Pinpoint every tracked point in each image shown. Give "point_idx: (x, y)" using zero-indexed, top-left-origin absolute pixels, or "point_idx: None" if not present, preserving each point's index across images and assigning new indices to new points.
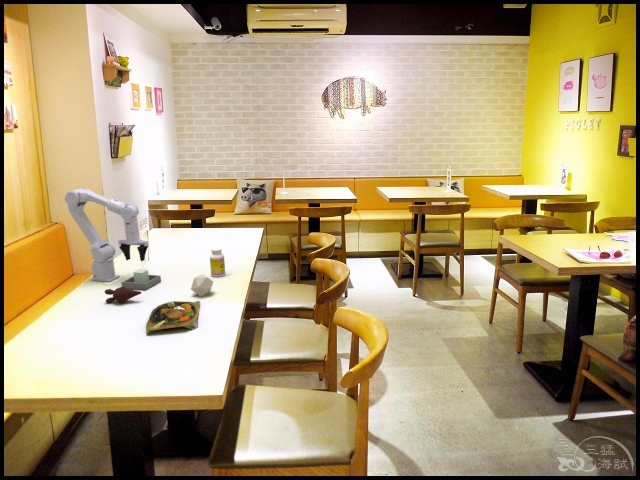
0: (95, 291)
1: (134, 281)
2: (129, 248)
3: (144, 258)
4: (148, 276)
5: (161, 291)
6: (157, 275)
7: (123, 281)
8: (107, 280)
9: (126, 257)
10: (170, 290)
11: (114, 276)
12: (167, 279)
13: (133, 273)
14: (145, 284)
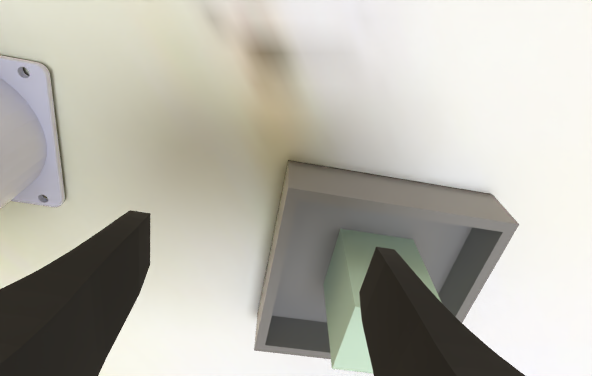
0: (117, 346)
1: (326, 305)
2: (51, 336)
3: (403, 265)
4: (427, 275)
5: (517, 340)
6: (491, 223)
7: (260, 337)
8: (43, 202)
9: (130, 306)
10: (570, 328)
11: (38, 136)
12: (540, 140)
13: (332, 360)
14: None
